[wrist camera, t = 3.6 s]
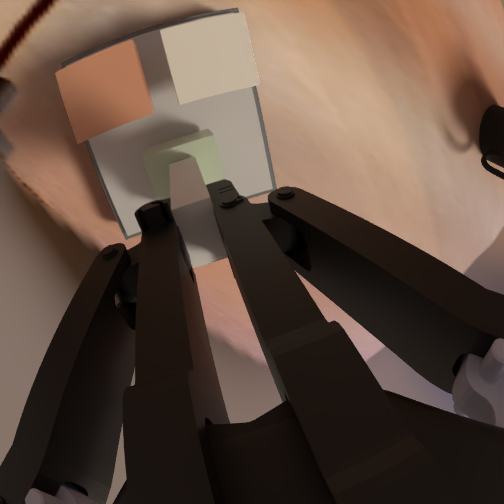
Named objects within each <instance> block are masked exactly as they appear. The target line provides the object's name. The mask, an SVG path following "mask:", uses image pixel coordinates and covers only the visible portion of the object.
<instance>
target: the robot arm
mask: <svg viewBox="0 0 504 504" xmlns="http://www.w3.org/2000/svg"><path fill="white" fill-rule="evenodd" d="M169 176H170V198H167V199H164V200H163V199H160V200H155V201H151V202H149V203H146V204H144V205H143V206H141V207H140V208H138V209H137V210H136V211H135V213H134V215H135V218H136V220H137V222H138V225H139V227H140V229H141V232H142V238H141V242H140V243H139V244H138V245H136V246H134V247H132V248H131V249H129V250H127V249H126V247H125V245H124V244H122V243H117V244H113V245H109V246H107V247H105V248H104V249H103V250H102V251H101V252H100V253H99V254H98V255H97V256H96V258H95V259H94V261H93V263H92V265H91V266H90V268H89V270H88V271H87V273H86V275H85V277H84V279H83V280H82V282H81V284H80V286H79V288H78V289H77V291H76V293H75V295H74V297H73V298H72V300H71V302H70V304H69V306H68V308H67V310H66V312H65V314H64V316H63V318H62V320H61V322H60V324H59V326H58V328H57V330H56V333H55V334H54V337H53V339H52V341H51V343H50V345H49V347H48V350H47V352H46V354H45V356H44V359H43V361H42V363H41V366H40V368H39V370H38V373H37V375H36V378H35V380H34V383H33V386H32V388H31V391H30V394H29V396H28V399H27V402H26V404H25V407H24V410H23V413H22V416H21V419H20V422H19V425H18V428H17V431H16V435H15V438H14V441H13V445H12V446H11V448H10V450H9V452H8V453H7V455H6V457H5V459H4V461H3V462H2V464H1V466H0V504H106V501H107V498H108V495H109V491H110V488H111V484H112V478H113V474H114V468H115V461H116V455H117V450H118V444H119V439H120V433H121V427H122V423H123V436H124V453H125V466H126V475H127V480H126V481H125V483H124V485H123V487H122V488H121V490H120V492H119V494H118V495H117V497H116V499H115V501H114V502H113V504H504V295H503V294H500V293H497V292H494V291H490V290H488V289H485V288H484V287H482V286H481V285H479V284H478V283H476V282H475V281H473V280H471V279H469V278H468V277H467V276H465V275H463V274H462V273H460V272H458V271H457V270H455V269H453V268H452V267H450V266H448V265H447V264H445V263H443V262H442V261H440V260H438V259H436V258H435V257H433V256H431V255H430V254H428V253H426V252H424V251H423V250H421V249H419V248H417V247H415V246H414V245H412V244H410V243H408V242H406V241H404V240H403V239H401V238H399V237H397V236H395V235H393V234H392V233H390V232H388V231H386V230H384V229H382V228H380V227H378V226H376V225H374V224H372V223H370V222H368V221H367V220H365V219H363V218H361V217H359V216H357V215H355V214H353V213H351V212H349V211H347V210H344V209H342V208H340V207H338V206H336V205H334V204H332V203H330V202H328V201H326V200H324V199H322V198H319V197H317V196H315V195H313V194H311V193H309V192H306V191H304V190H302V189H300V188H296V187H289V186H287V187H281V188H279V189H276V190H274V191H272V192H271V193H270V194H269V195H268V203H260V204H251V203H250V202H249V201H248V199H247V198H246V197H245V196H241V195H239V193H238V192H237V190H236V189H235V187H234V186H233V184H232V182H231V181H229V180H226V179H223V180H220V181H216V182H213V183H210V184H207V185H205V182H204V179H203V177H202V174H201V172H200V169H199V166H198V164H197V161H196V159H195V156H193V157H190V158H187V159H184V160H181V161H178V162H175V163H172V164H169ZM227 257H228V259H229V262H230V265H231V269H232V272H233V275H234V278H235V279H236V282H237V284H238V287H239V290H240V292H241V295H242V298H243V300H244V303H245V306H246V309H247V311H248V314H249V317H250V319H251V322H252V324H253V327H254V330H255V332H256V335H257V338H258V340H259V343H260V345H261V348H262V351H263V353H264V356H265V358H266V361H267V364H268V366H269V369H270V371H271V374H272V376H273V379H274V381H275V384H276V387H277V389H278V392H279V394H280V397H281V399H282V402H283V403H282V404H280V405H278V406H277V407H275V408H273V409H272V410H270V411H269V412H267V413H265V414H264V415H262V416H260V417H259V418H257V419H255V420H253V421H251V422H247V423H234V424H230V421H229V418H228V415H227V411H226V408H225V403H224V400H223V396H222V392H221V388H220V384H219V380H218V376H217V372H216V368H215V364H214V360H213V355H212V351H211V347H210V343H209V338H208V334H207V329H206V325H205V320H204V316H203V311H202V306H201V301H200V296H199V292H198V287H197V282H196V276H195V273H194V271H193V268H197V267H200V266H203V265H206V264H209V263H212V262H215V261H218V260H221V259H224V258H227ZM191 263H192V266H193V268H192V266H191ZM294 270H295V271H296V272H297V273H299V274H300V275H301V276H302V277H303V278H305V279H306V280H307V281H308V282H310V283H311V284H312V285H313V286H314V287H316V288H317V289H318V290H319V291H320V292H322V293H323V294H324V295H325V296H326V297H328V298H329V299H330V300H331V301H333V302H334V303H335V304H336V305H337V306H339V307H340V308H341V309H342V310H343V311H345V312H346V313H347V314H348V315H349V316H351V317H352V318H353V319H354V320H355V321H357V322H358V323H359V324H360V325H361V326H363V327H364V328H365V329H366V330H367V331H369V332H370V333H371V334H372V335H373V336H375V337H376V338H377V339H378V340H379V341H381V342H382V343H383V344H384V345H385V346H386V347H388V348H389V349H390V350H391V351H393V352H394V353H395V354H396V355H397V356H399V357H400V358H401V359H402V360H403V361H404V362H406V363H407V364H408V365H409V366H410V367H411V368H413V369H414V370H415V371H416V372H417V373H419V374H420V375H421V376H422V377H424V378H425V379H426V380H428V381H429V382H430V383H432V384H434V385H435V386H437V387H439V388H440V389H442V390H444V391H446V392H448V393H450V394H452V398H453V401H454V410H455V412H456V413H457V414H454V413H451V412H448V411H444V410H442V409H439V408H436V407H433V406H430V405H427V404H424V403H421V402H418V401H416V400H413V399H410V398H407V397H404V396H402V395H399V394H396V393H393V392H390V391H387V390H383V389H382V388H381V386H380V385H379V383H378V381H377V380H376V378H375V377H374V375H373V373H372V372H371V370H370V369H369V367H368V366H367V364H366V363H365V361H364V359H363V358H362V356H361V355H360V353H359V352H358V350H357V349H356V347H355V346H354V344H353V343H352V341H351V339H350V338H349V336H348V335H347V333H346V332H345V330H344V329H343V328H342V326H341V325H340V324H339V323H338V322H336V321H332V322H327V320H326V319H325V317H324V316H323V314H322V313H321V311H320V310H319V308H318V306H317V305H316V303H315V302H314V300H313V299H312V297H311V295H310V294H309V292H308V291H307V289H306V288H305V286H304V284H303V283H302V281H301V280H300V278H299V277H298V275H297V274H296V272H295V271H294ZM115 298H116V299H117V301H118V304H117V307H116V304H115ZM134 368H135V385H134V386H130V385H131V381H132V377H133V373H134ZM465 416H468V417H469V418H467V417H465Z"/></svg>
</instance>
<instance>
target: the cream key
mask: <svg viewBox="0 0 504 504" xmlns="http://www.w3.org/2000/svg"><path fill="white" fill-rule="evenodd" d="M160 35H161V40H162V44H163V48H164V52H165V55H166V59H167V63H168V67H169V71H170V74H171V78H172V82H173V85H174V89H175V93H176V96H177V100H178V103H179V105H182V104H185V103H189V102H192V101H196V100H199V99H203V98H206V97H210V96H214V95H218V94H222V93H226V92H230V91H234V90H239V89H243V88H248V87H253V86H258V85H260V80H259V76H258V71H257V67H256V62H255V58H254V53H253V49H252V45H251V40H250V36H249V32H248V28H247V23H246V19H245V15H244V12H241V13H235V14H228V15H222V16H217V17H212V18H207V19H202V20H197V21H193V22H189V23H185V24H181V25H177V26H173V27H169V28H166V29H162V30H160Z"/></svg>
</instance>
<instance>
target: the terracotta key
mask: <svg viewBox="0 0 504 504" xmlns="http://www.w3.org/2000/svg"><path fill="white" fill-rule="evenodd" d="M55 75H56V78H57V82H58V86H59V89H60V93H61V96H62V99H63V103H64V106H65V109H66V112H67V115H68V118H69V121H70V124H71V127H72V130H73V133H74V136H75V139H76V142H77V144H79V143H82V142H84V141H86V140H88V139H90V138H93V137H95V136H97V135H100V134H102V133H104V132H107V131H109V130H111V129H114V128H116V127H119V126H121V125H124V124H127V123H129V122H132V121H134V120H137V119H140V118H143V117H145V116H148V115H151V114H153V113H154V111H155V109H154V106H153V102H152V99H151V95H150V92H149V88H148V85H147V81H146V78H145V74H144V70H143V67H142V63H141V59H140V55H139V52H138V48H137V45H136V44H135V42H134V41H133V40H132V39H131V40H128V41H125V42H123V43H120V44H117V45H115V46H112V47H110V48H107V49H105V50H102V51H100V52H98V53H95V54H93V55H91V56H88V57H86V58H84V59H82V60H80V61H77V62H75V63H73V64H71V65H69V66H67V67H65V68H63V69H61V70H59V71H57V72H55Z"/></svg>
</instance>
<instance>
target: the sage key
mask: <svg viewBox="0 0 504 504" xmlns="http://www.w3.org/2000/svg"><path fill="white" fill-rule="evenodd" d="M193 156H195V159H196V161H197V164H198V166H199V169H200V172H201V174H202V177H203V179H204V182H205V185H207V184H210V183H213V182H216V181H220V180H223V179H225V175H224V171H223V168H222V164H221V160H220V156H219V152H218V148H217V145H216V141H215V137H214V134H213V133H212V132H211V131H210V130H209V129H205V130H202V131H198V132H195V133H192V134H188V135H185V136H182V137H179V138H176V139H173V140H170V141H167V142H164V143H161V144H158V145H155V146H152V147H149V148H147V149H145V151H144V154H143V157H142V160H143V162H144V165H145V168H146V171H147V174H148V177H149V179H150V182H151V185H152V188H153V190H154V193H155V196H156V199H157V200H160V199H163V200H164V199H167V198H170V176H169V164H172V163H175V162H178V161H181V160H184V159H187V158H190V157H193Z"/></svg>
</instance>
